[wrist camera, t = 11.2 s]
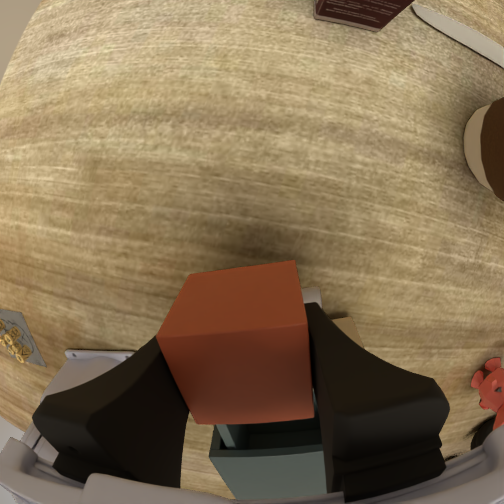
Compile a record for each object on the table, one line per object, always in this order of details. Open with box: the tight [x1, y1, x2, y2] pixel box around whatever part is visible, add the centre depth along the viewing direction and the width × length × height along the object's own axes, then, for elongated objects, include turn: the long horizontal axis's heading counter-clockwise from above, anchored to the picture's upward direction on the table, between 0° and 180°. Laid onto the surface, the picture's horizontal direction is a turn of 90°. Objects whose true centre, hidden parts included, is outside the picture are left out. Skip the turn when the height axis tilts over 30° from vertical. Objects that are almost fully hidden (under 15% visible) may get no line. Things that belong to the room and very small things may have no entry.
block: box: [156, 260, 314, 424], centre depth 11 cm, size 4×4×4 cm
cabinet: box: [209, 424, 327, 500], centre depth 24 cm, size 15×13×8 cm
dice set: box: [0, 319, 32, 363], centre depth 25 cm, size 5×5×2 cm
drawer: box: [216, 286, 364, 450], centre depth 20 cm, size 18×11×6 cm, turn 9°
